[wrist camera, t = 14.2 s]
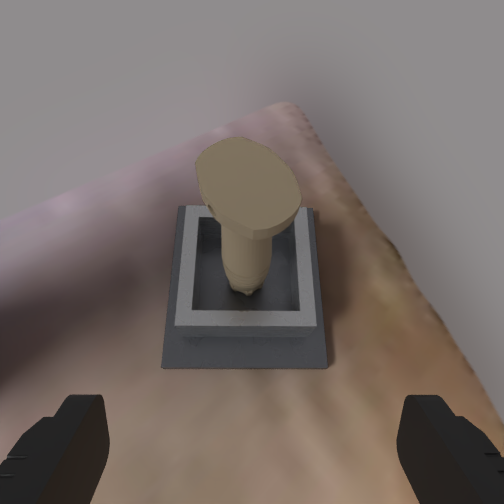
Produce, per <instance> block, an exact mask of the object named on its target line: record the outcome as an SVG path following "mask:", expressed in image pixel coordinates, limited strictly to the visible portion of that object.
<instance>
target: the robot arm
mask: <svg viewBox="0 0 504 504" xmlns="http://www.w3.org/2000/svg"><path fill="white" fill-rule="evenodd" d="M109 446H110V439H109V432H108V425H107V419H106V412H105V406H104V400H103V397H102V396H101V395H69V396H68V397H67V398H66V399H65V400H64V402H63V403H62V405H61V406H60V408H59V409H58V411H57V412H56V414H55V415H54V417H43V418H42V419H41V420H40V421H38V422H37V423H36V424H35V425H33V426H32V427H31V428H30V429H29V430H27V431H26V432H25V433H24V434H23V435H22V436H21V437H20V439H19V440H18V441H17V443H16V444H15V445H14V447H13V448H12V450H11V451H10V452H9V454H8V455H7V459H6V460H4V461H3V462H2V463H1V465H0V504H90V502H91V500H92V497H93V495H94V492H95V490H96V487H97V485H98V483H99V480H100V478H101V475H102V473H103V470H104V468H105V465H106V462H107V459H108V454H109ZM397 452H398V457H399V460H400V463H401V465H402V468H403V470H404V472H405V474H406V476H407V478H408V480H409V482H410V484H411V486H412V489H413V491H414V493H415V495H416V497H417V499H418V501H419V503H420V504H504V457H501V455H500V452H499V451H498V450H497V448H496V447H495V446H494V445H493V443H492V442H491V441H490V440H489V438H488V437H487V436H486V435H485V433H483V432H482V431H481V430H480V429H478V428H477V427H476V426H474V425H473V424H472V423H471V422H469V421H468V420H467V419H466V418H464V417H463V416H455V414H454V413H453V412H452V410H451V409H450V408H449V406H448V405H447V404H446V402H445V401H444V400H443V399H442V398H441V397H440V396H438V395H408V396H407V397H406V398H405V401H404V406H403V410H402V415H401V420H400V425H399V430H398V434H397Z"/></svg>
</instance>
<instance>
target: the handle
mask: <svg viewBox="0 0 504 504" xmlns="http://www.w3.org/2000/svg"><path fill="white" fill-rule="evenodd" d="M195 165H196V172H197V177H198V183H199V188H200V192H201V196H202V199H203V202H204V203H205V205H206V207H207V208H208V210H209V211H210V213H211V214H212V216H213V217H214V218H215V219H216V220H217V221H218V222H219V223H220V224H221V238H222V261H223V266H224V269H225V273H226V276H227V278H228V280H229V282H230V286H231V288H232V289H233V290H234V291H239V292H242V293H244V294H246V296H250V295H252V294H253V292H254V291H255V290H257V289H261V288H262V286H263V284H264V280H265V278H266V276H267V274H268V271H269V268H270V263H271V257H272V236H275V235H276V234H278V233H280V232H282V231H283V230H284V229H286V228H287V227H288V226H289V225H290V224H291V223H292V222H293V221H294V219H295V217H296V215H297V213H298V211H299V208H300V204H301V201H302V196H301V192H300V189H299V186H298V183H297V180H296V178H295V176H294V174H293V172H292V170H291V169H290V168H289V167H288V165H287V164H286V163H285V162H284V161H283V160H282V159H281V158H280V157H279V156H278V155H277V154H275V153H274V152H273V151H272V150H271V149H269V148H267V147H265V146H263V145H261V144H259V143H256V142H254V141H251V140H249V139H246V138H244V137H233V138H228V139H224V140H221V141H219V142H217V143H215V144H213V145H211V146H210V147H208V148H207V149H205V150H204V151H203V152H202V153H201V154H200V156H199V157H198V158H197V160H196V162H195Z"/></svg>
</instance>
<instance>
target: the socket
mask: <svg viewBox="0 0 504 504" xmlns="http://www.w3.org/2000/svg"><path fill="white" fill-rule="evenodd" d="M161 368H163V369H327V368H328V364H327V353H326V342H325V332H324V321H323V311H322V300H321V290H320V279H319V268H318V258H317V247H316V237H315V226H314V215H313V208H307V207H300V208H299V211H298V213H297V215H296V217H295V219H294V221H293V222H292V223H291V224H290V225H289V226H288V227H287V228H286V229H284V230H283V231H282V232H280V233H278V234H276V235H275V236H272V257H271V263H270V268H269V271H268V274H267V276H266V278H265V280H264V284H263V286H262V288H261V289H257V290H255V291H254V292H253V294H252V295H250V296H246V294H244V293H242V292H239V291H234V290H233V289H232V288H231V286H230V282H229V280H228V278H227V276H226V273H225V269H224V266H223V261H222V238H221V224H220V223H219V222H218V221H217V220H216V219H215V218H214V217H213V216H212V214H211V213H210V211H209V210H208V208H207V207H206V206H199V205H186V206H179V208H178V217H177V226H176V235H175V245H174V254H173V263H172V272H171V281H170V291H169V300H168V309H167V318H166V327H165V337H164V346H163V355H162V364H161Z"/></svg>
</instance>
